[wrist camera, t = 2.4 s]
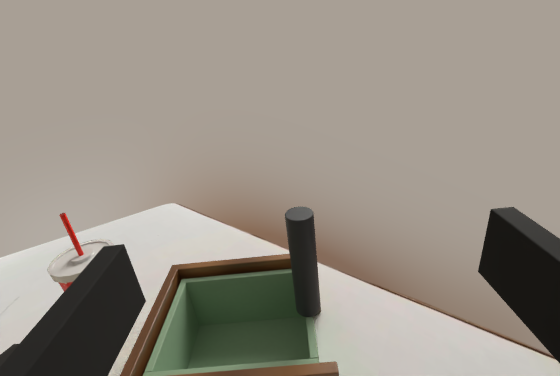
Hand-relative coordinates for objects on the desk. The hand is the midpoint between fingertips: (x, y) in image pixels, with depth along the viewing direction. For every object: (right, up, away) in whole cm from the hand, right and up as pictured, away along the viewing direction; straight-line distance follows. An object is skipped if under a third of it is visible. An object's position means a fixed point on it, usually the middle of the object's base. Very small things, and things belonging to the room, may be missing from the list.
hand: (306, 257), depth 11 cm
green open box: (-4, -14, +17) cm, 22 cm away
